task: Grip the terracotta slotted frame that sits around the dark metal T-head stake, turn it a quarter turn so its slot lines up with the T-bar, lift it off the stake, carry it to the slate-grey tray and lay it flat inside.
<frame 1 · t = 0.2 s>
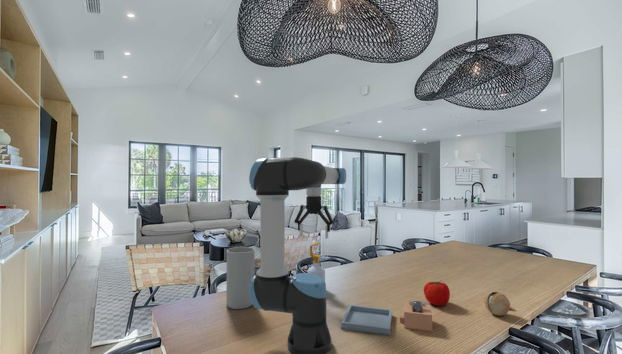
hand: (313, 237, 158), 28 cm above the table, fingers open, 13 cm apart
ring frame: (417, 323, 123), on the table
sculpture: (499, 316, 130), on the table
stake: (417, 323, 123), on the table
tomato: (436, 304, 143), on the table
soap bottle: (316, 290, 161), on the table
cylinder vase: (240, 304, 143), on the table
tray: (367, 321, 125), on the table
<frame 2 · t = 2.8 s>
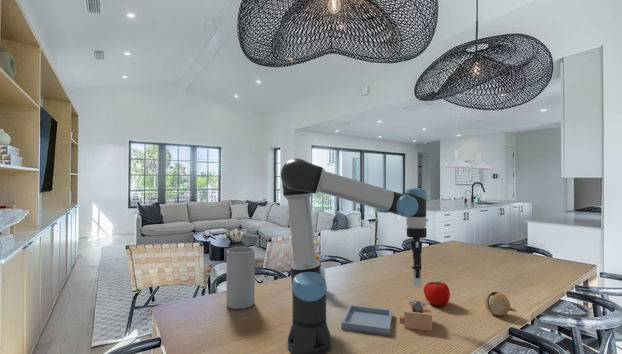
hand: (417, 280, 123), 17 cm above the table, fingers open, 13 cm apart
nothing on the table moved.
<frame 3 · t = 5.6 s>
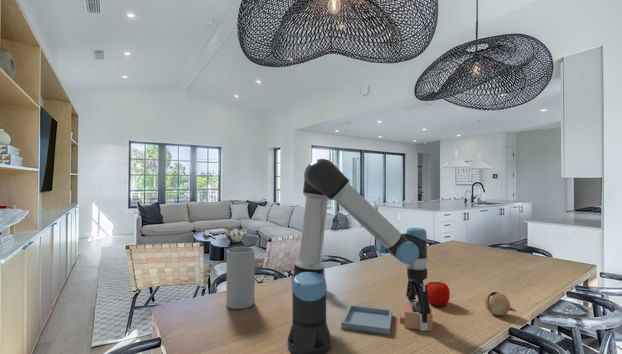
hand: (417, 323, 123), 0 cm above the table, fingers closed on ring frame, 11 cm apart
ring frame: (417, 323, 123), on the table, touching gripper
everything else where it was.
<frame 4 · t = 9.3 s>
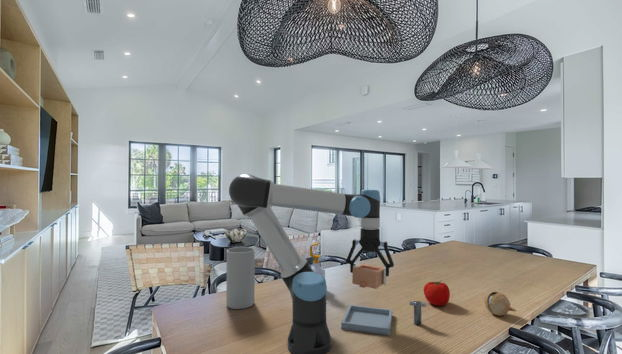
hand: (369, 282, 125), 16 cm above the table, fingers closed on ring frame, 11 cm apart
ring frame: (369, 282, 125), point 16 cm above the table, touching gripper
everything else where it was.
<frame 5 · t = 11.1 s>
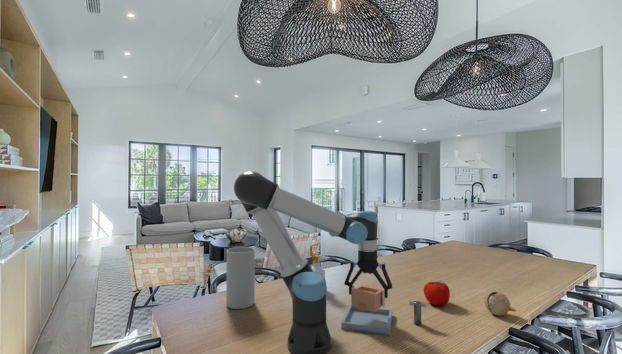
hand: (368, 304, 125), 7 cm above the table, fingers closed on ring frame, 11 cm apart
ring frame: (368, 304, 125), point 7 cm above the table, touching gripper
everything else where it was.
when the fingers open (3 cm above the table, at t = 12.5 s): ring frame drops 2 cm, resting on tray.
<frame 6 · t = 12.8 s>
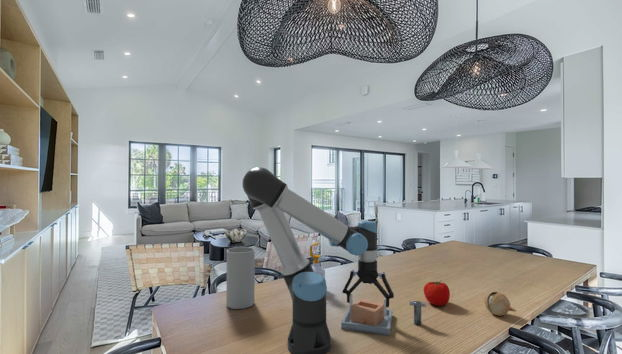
hand: (367, 313, 125), 3 cm above the table, fingers open, 13 cm apart
ring frame: (367, 320, 125), point 1 cm above the table, touching tray
everything else where it was.
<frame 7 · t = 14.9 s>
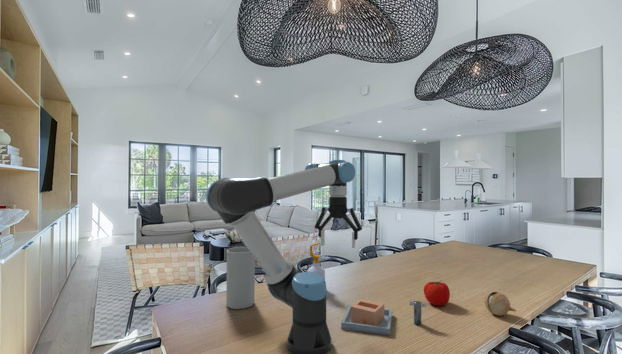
hand: (337, 246, 132), 29 cm above the table, fingers open, 13 cm apart
nothing on the table moved.
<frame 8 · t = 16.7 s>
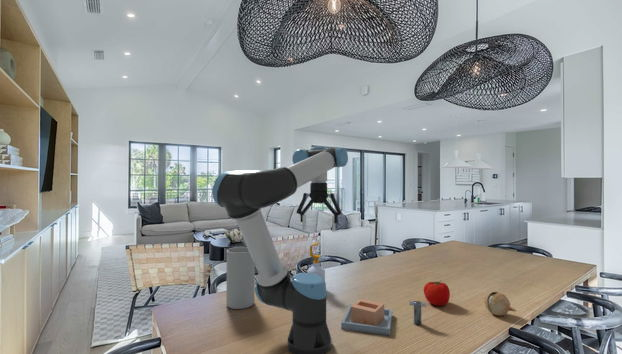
hand: (318, 230, 138), 35 cm above the table, fingers open, 13 cm apart
nothing on the table moved.
at the end: ring frame inside the target area on the tray (0.1 cm from its centre), point 0.6 cm above the tray's base; ring frame tilted 0°; the gripper is holding nothing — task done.
